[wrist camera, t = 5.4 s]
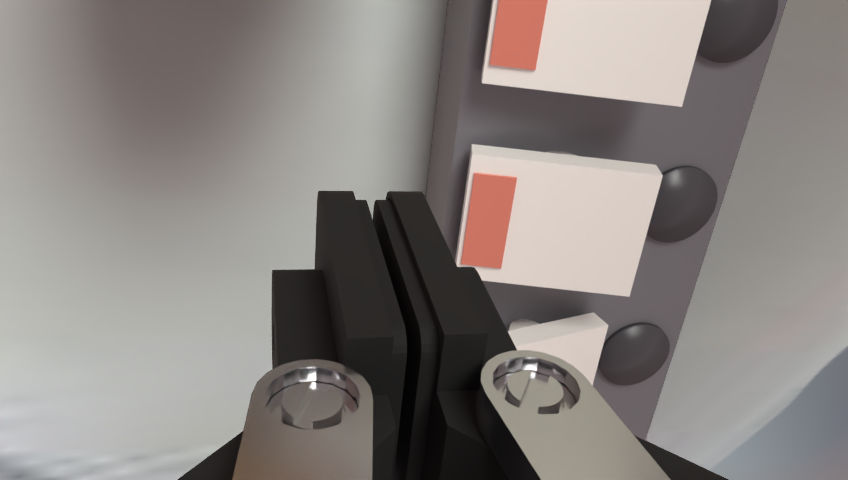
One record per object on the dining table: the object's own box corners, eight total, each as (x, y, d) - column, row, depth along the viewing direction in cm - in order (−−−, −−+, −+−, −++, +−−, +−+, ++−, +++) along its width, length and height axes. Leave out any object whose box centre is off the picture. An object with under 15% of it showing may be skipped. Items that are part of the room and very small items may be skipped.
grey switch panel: (793, -218, 32) (864, -222, 28) (608, 425, 49) (637, 474, 45) (478, -266, 29) (512, -278, 25) (397, 439, 46) (410, 493, 42)
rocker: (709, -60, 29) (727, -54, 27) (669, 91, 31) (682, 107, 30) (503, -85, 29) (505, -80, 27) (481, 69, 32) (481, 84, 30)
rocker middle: (651, 157, 33) (663, 176, 31) (620, 273, 36) (630, 298, 34) (471, 136, 33) (472, 155, 31) (454, 254, 36) (454, 278, 34)
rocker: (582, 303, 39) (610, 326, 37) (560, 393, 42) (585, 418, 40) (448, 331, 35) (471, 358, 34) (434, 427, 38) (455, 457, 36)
